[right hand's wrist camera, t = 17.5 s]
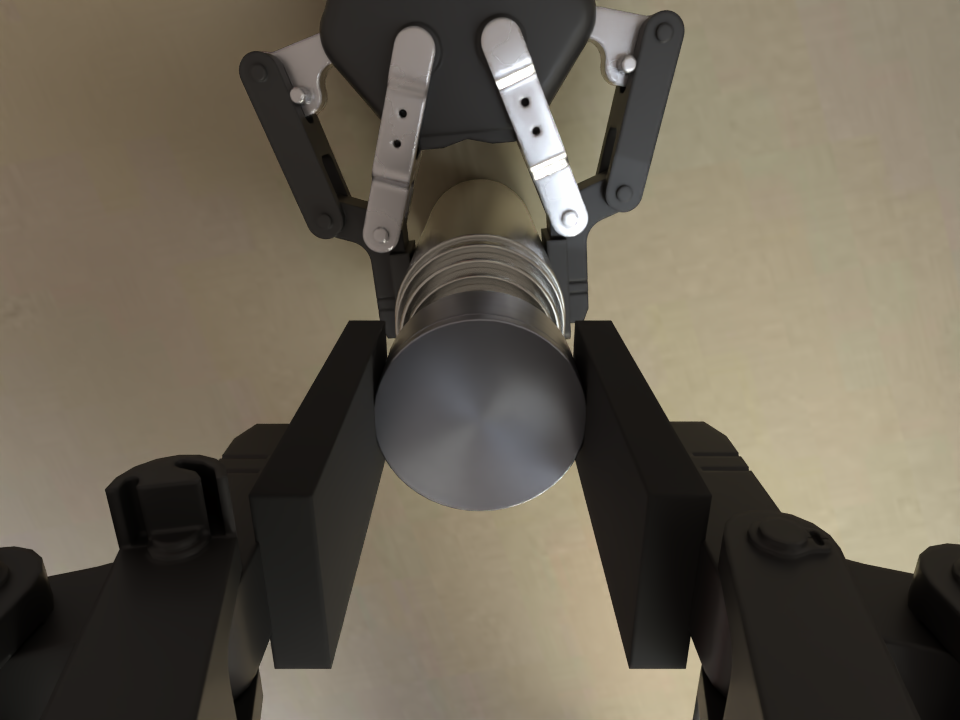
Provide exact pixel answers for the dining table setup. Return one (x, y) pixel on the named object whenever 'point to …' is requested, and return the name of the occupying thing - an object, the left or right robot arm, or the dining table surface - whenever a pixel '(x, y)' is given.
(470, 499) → the cap
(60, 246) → the dining table surface
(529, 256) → the bottle
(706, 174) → the dining table surface
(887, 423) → the dining table surface
